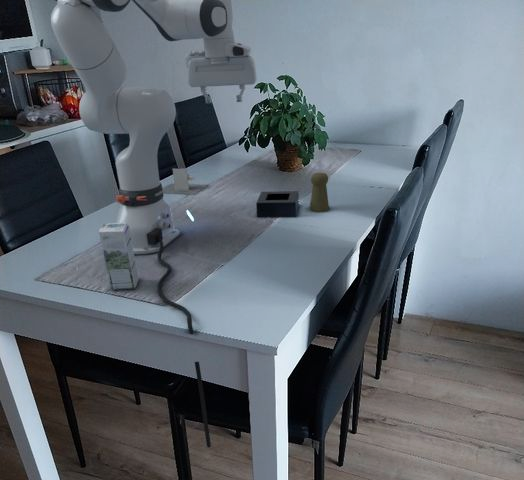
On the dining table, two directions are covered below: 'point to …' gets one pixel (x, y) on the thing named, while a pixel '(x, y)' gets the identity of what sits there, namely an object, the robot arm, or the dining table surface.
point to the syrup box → (119, 255)
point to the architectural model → (182, 183)
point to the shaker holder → (278, 204)
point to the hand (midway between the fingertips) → (224, 102)
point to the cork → (319, 193)
